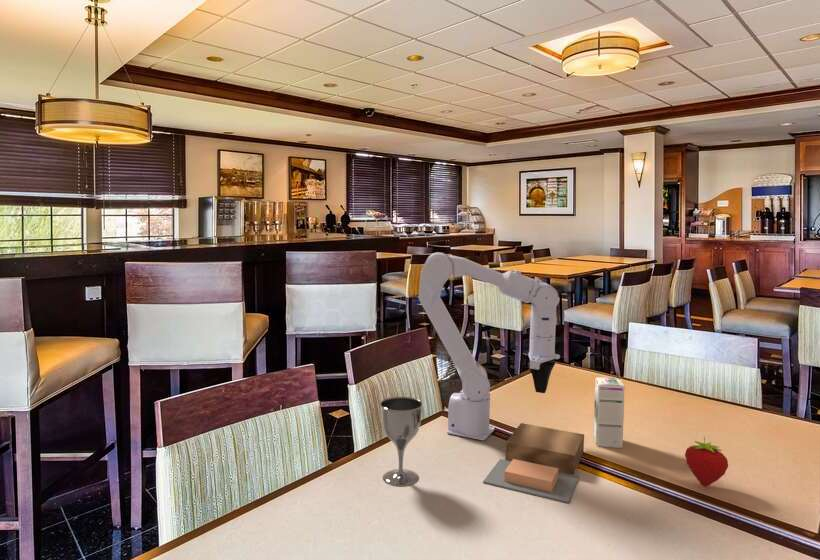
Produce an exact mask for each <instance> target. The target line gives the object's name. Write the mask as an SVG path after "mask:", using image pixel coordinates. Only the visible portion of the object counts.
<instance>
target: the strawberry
mask: <svg viewBox="0 0 820 560" xmlns="http://www.w3.org/2000/svg"><path fill="white" fill-rule="evenodd" d="M705 437H706V436H703V442H700V441H697V440H694V441H693V442H694V443H696V444H698V445H690V446H688V447H686V449H685V453H684V456H685V461H686V465H687V466H688V468H689V469H690V471H691V473H692V474H693V476H694V477H695V478H696V479H697V481H698V482H699V484H700V485H701V486H702V487H709V486H710V485H712V484H713V483H715V482H717V481H718V480H719V479H721V478H722V477H723V476H725V474H726V472H727V470H728V467H729V461H728V459H727V457H726V456H725V454H724V453H722V451H723V450H722V449H720V448H719V446H717V445H713V444H712V442H707V443H706V439H705Z"/></svg>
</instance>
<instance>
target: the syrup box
mask: <svg viewBox="0 0 820 560" xmlns="http://www.w3.org/2000/svg"><path fill="white" fill-rule="evenodd" d="M594 381H595V383H594V387H595V388H594V407H593V408H594V411H593V439H594V442H595V445H596V446H597V447H603V448H604V447H605V448H614V449H615V448H617V449H622V448H623V442H624V441H623V440H624V439H623V438H624V421H625V419H624V417H625V415H624V414H625V412H624V411H625V389H626V387H625V385H624V384H623V381H622V380H621V378H616V377H605V376H604V377H595V379H594Z"/></svg>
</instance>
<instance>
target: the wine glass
mask: <svg viewBox="0 0 820 560" xmlns="http://www.w3.org/2000/svg"><path fill="white" fill-rule="evenodd" d="M422 413H423V403H422V401H421V400H419V399H417V398H415V397H411V396H410V397H409V396H392V397H388V398H385V399H382V401H380V419H381V426H382V429H383V431H384V434H385V436H386V437H387V438H389V440H390V441H391V442H392V443H393V444H394V446H395V447H396V450H397V455H398V468H395V469H394V468H393V469H390V470H387V471H386V472H385V473H384V474H383V475H382V481H383V482H384V483H385V484H387V485H390V486H392V487H409V486H412V485H415V484H416V483H418V482H419V479H420V477H419V474H418V473H417V472H415V471H414V470H411V469H408V468H404V465H403V464H404V455H405V450H406V448H407V446H408V445H409V443H410V442H412V440H413V439H414V438H415V437H416V436H417V434H418V432H419V430H420V426H421V422H422V418H423V417H422V415H423V414H422Z"/></svg>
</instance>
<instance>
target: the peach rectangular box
mask: <svg viewBox="0 0 820 560" xmlns="http://www.w3.org/2000/svg"><path fill="white" fill-rule="evenodd" d="M557 479H558V468H554V467H549V466H544V465H540V464H535V463H530V462H525V461H521V460H516V459H513V460H512V461H511V463H510V464H509V466H508V467H507V468H506V470H505V473H504V481H506V482H510V483H515V484H519V485H523V486H528V487H532V488H536V489H540V490H545V491H549V492H552V490H553V488H554V486H555V484H556V482H557Z"/></svg>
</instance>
